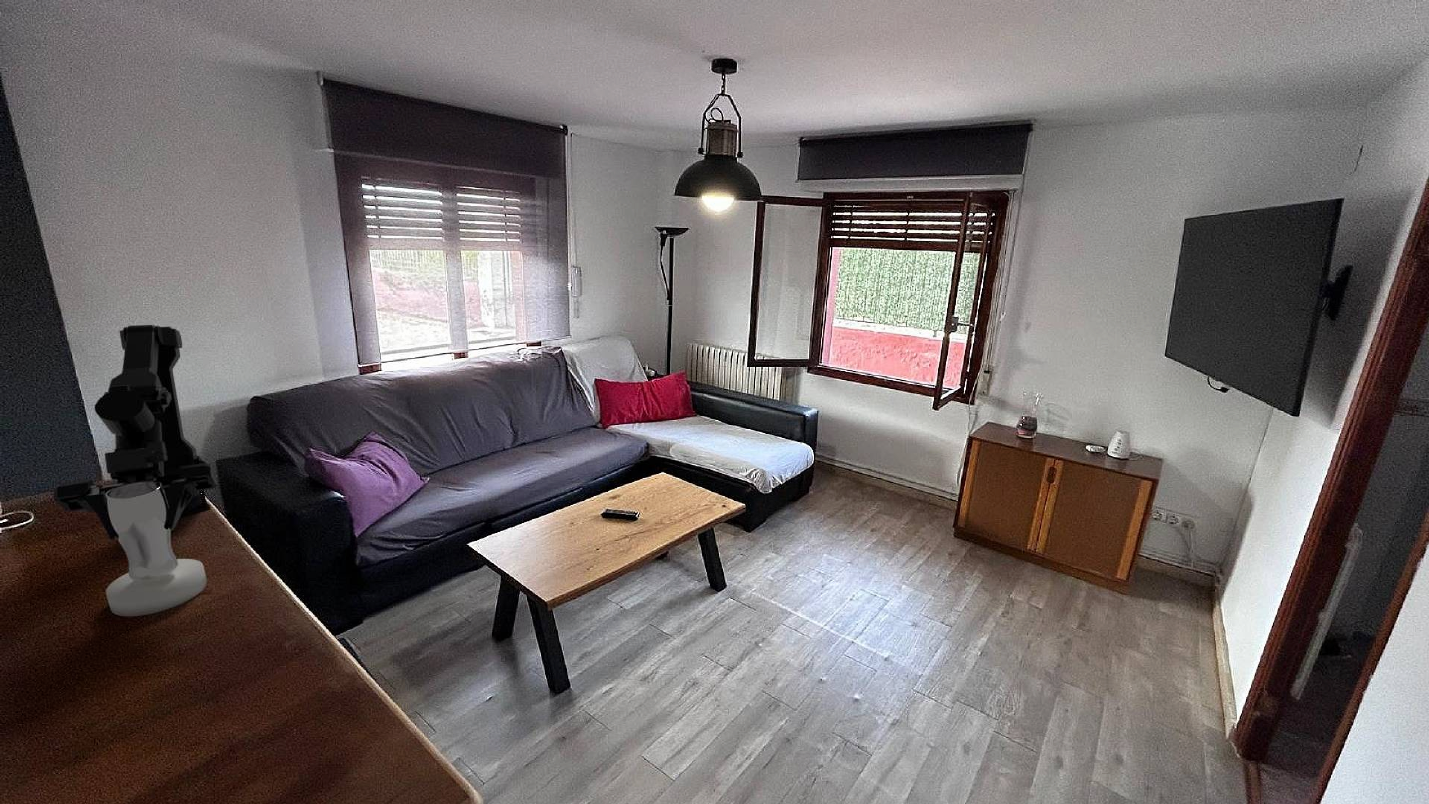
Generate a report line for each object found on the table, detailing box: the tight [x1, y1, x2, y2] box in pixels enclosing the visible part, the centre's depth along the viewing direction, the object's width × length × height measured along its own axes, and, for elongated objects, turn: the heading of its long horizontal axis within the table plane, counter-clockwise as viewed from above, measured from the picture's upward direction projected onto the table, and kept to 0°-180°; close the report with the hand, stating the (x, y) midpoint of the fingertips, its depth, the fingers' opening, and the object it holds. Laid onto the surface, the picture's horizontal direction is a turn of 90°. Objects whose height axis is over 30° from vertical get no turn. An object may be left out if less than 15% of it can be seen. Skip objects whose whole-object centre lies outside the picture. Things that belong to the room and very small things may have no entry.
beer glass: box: [105, 481, 179, 581], centre depth 96 cm, size 7×7×15 cm
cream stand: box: [105, 558, 208, 617], centre depth 99 cm, size 12×12×3 cm
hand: (142, 534), depth 95 cm, fingers closed on beer glass, 6 cm apart
